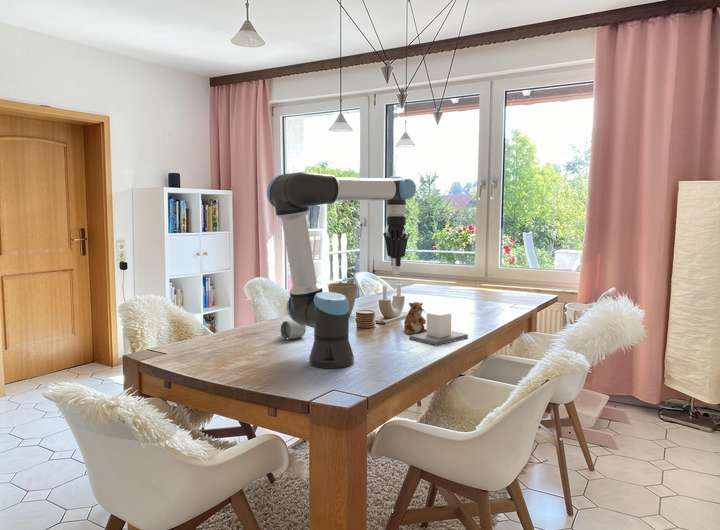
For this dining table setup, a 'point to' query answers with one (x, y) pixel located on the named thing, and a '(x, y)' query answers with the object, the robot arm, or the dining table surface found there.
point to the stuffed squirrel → (415, 319)
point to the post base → (437, 338)
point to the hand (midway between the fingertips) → (395, 274)
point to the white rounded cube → (438, 324)
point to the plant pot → (345, 292)
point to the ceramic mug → (292, 330)
